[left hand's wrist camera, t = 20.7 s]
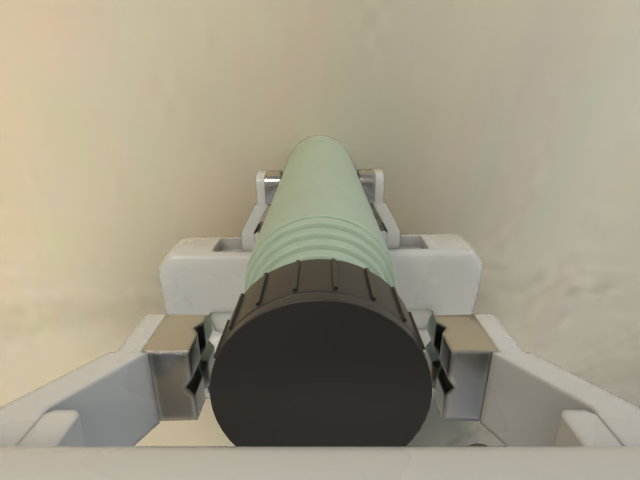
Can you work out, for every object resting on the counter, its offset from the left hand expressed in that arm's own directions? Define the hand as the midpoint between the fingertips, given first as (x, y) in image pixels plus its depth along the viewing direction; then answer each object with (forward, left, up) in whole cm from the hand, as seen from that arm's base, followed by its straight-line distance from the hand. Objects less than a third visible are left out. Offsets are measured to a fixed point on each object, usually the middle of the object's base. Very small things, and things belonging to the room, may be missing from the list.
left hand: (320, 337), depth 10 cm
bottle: (0, 0, -21) cm, 21 cm away
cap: (0, 0, +2) cm, 2 cm away
